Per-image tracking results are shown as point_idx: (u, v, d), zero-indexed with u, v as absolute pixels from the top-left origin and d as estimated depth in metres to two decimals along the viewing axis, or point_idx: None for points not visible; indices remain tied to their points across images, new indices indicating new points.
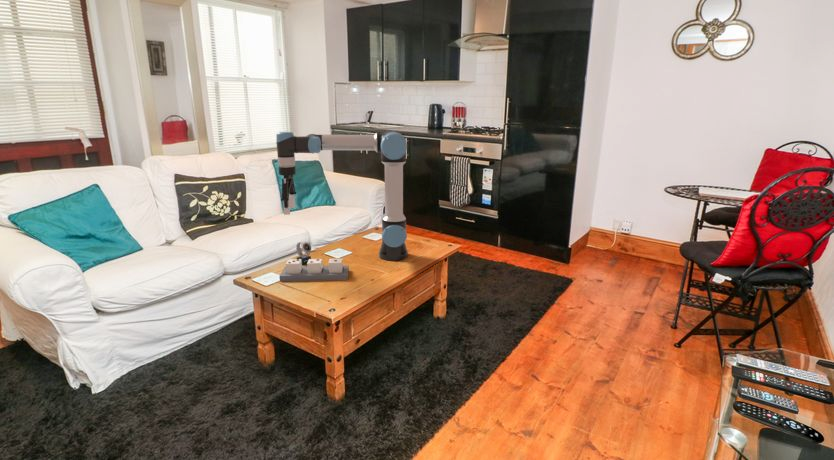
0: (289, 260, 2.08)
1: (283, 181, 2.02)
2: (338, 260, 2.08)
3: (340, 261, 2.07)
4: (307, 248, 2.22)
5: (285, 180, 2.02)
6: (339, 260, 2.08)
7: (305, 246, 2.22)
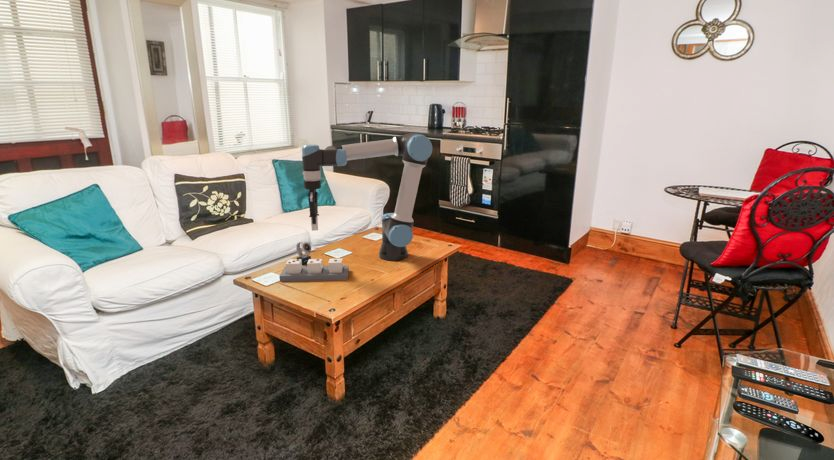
0: (289, 260, 2.08)
1: (310, 200, 2.00)
2: (338, 260, 2.08)
3: (340, 261, 2.07)
4: (307, 248, 2.22)
5: (312, 199, 2.00)
6: (339, 260, 2.08)
7: (305, 246, 2.22)
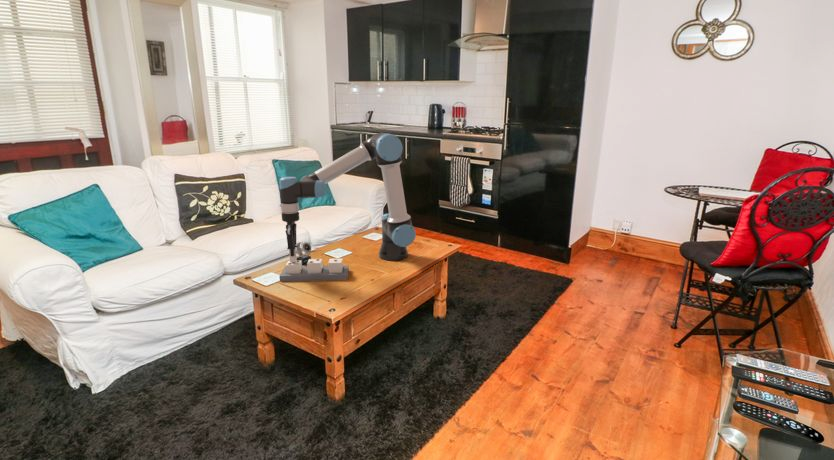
0: (289, 261, 2.08)
1: (287, 233, 1.97)
2: (338, 260, 2.08)
3: (340, 261, 2.07)
4: (307, 248, 2.22)
5: (289, 232, 1.97)
6: (339, 260, 2.08)
7: (305, 246, 2.22)
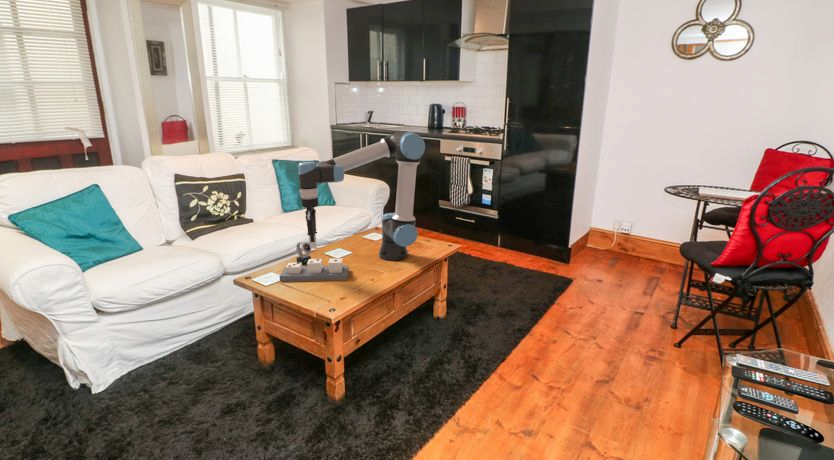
0: (289, 263, 2.08)
1: (307, 219, 1.96)
2: (338, 260, 2.08)
3: (340, 261, 2.07)
4: (307, 248, 2.22)
5: (309, 218, 1.96)
6: (339, 260, 2.08)
7: (305, 246, 2.22)
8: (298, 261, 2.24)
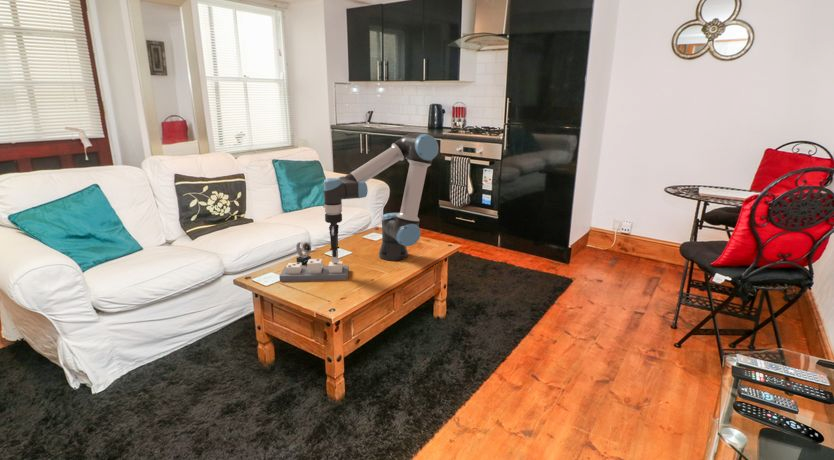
0: (289, 263, 2.08)
1: (331, 234, 1.99)
2: (338, 263, 2.09)
3: (340, 264, 2.08)
4: (307, 248, 2.22)
5: (333, 233, 1.98)
6: (339, 263, 2.08)
7: (305, 246, 2.22)
8: (298, 261, 2.24)
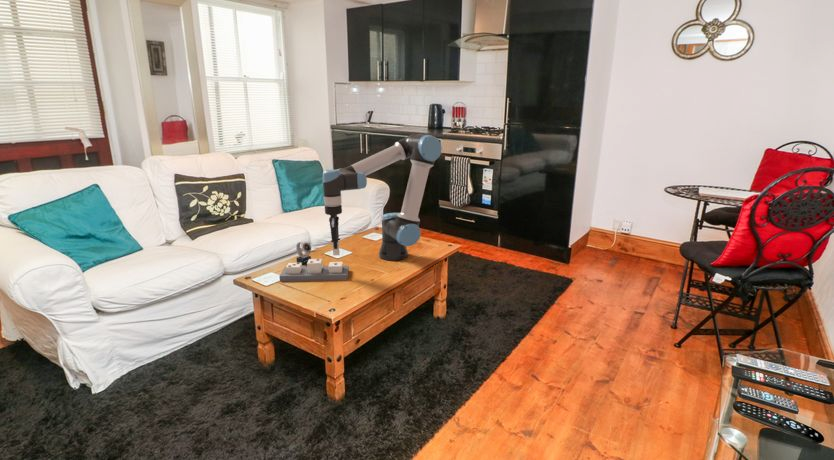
0: (289, 263, 2.08)
1: (331, 226, 1.98)
2: (338, 263, 2.09)
3: (340, 264, 2.08)
4: (307, 248, 2.22)
5: (333, 225, 1.97)
6: (339, 264, 2.08)
7: (305, 246, 2.22)
8: (298, 261, 2.24)
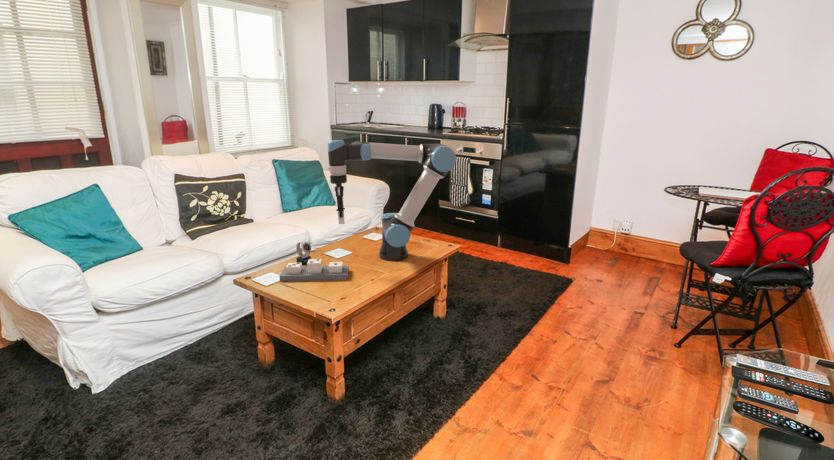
0: (289, 263, 2.08)
1: (337, 194, 2.04)
2: (338, 263, 2.09)
3: (340, 264, 2.08)
4: (307, 248, 2.22)
5: (339, 193, 2.04)
6: (339, 264, 2.08)
7: (305, 246, 2.22)
8: (298, 261, 2.24)
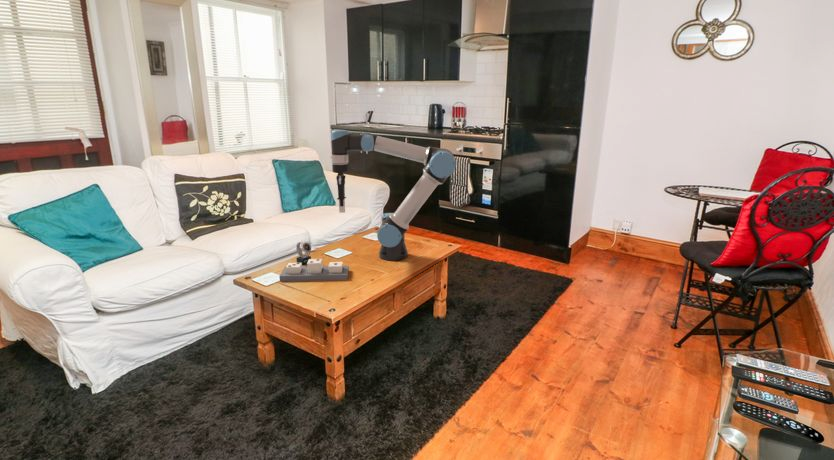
0: (289, 263, 2.08)
1: (338, 183, 2.09)
2: (338, 263, 2.09)
3: (340, 264, 2.08)
4: (307, 248, 2.22)
5: (340, 182, 2.08)
6: (339, 264, 2.08)
7: (305, 246, 2.22)
8: (298, 261, 2.24)
